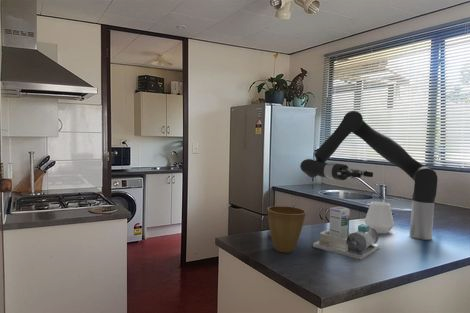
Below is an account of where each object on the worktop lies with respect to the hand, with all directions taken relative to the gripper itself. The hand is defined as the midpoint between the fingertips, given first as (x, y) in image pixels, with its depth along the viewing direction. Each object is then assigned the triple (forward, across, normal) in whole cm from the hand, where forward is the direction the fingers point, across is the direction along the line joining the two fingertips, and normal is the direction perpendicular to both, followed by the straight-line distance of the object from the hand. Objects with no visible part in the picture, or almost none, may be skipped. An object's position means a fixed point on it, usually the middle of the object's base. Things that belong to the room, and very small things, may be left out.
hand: (366, 175), depth 149 cm
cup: (-9, +25, +30) cm, 40 cm away
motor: (+1, -12, +30) cm, 32 cm away
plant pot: (-9, -38, +30) cm, 49 cm away
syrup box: (-3, -13, +28) cm, 31 cm away
